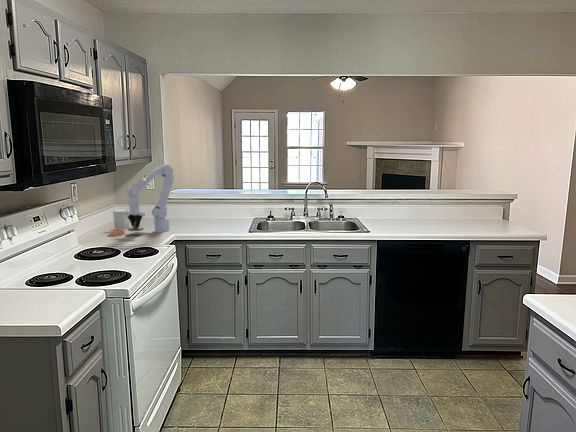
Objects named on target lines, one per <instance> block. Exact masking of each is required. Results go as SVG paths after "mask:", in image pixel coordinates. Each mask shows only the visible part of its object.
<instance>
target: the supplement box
mask: <svg viewBox="0 0 576 432" xmlns="http://www.w3.org/2000/svg"><path fill="white" fill-rule="evenodd" d="M125 212H129V210H128V209H116V210H114V211H113V212H112V214H113V223H114V226H113V227H114V229H124V230H128V228H130V220H129V219H128V216H129V215H125Z"/></svg>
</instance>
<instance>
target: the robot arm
mask: <svg viewBox="0 0 576 432" xmlns="http://www.w3.org/2000/svg"><path fill="white" fill-rule="evenodd" d="M173 172H174V169H173V168H172V166H171V165H169V164H159V165H158V166H156V167H155V168H154V169H153V170H152V171H151V172H150V173H148V175H146V176H145V177H144V178H138V179H137V181H136V182H135V183H133V184H132V185H131V186H128V187H127V190H126V194H127V196H128V204H129V206H128V207H129V211H128V212H125V215H128V219H129V223H130V224H131V225H130V226H131V228H132V227H133V223H136V227H141V226H140V225H141V221H142V218H143V217H145V216H146V212H142V211H140V203H139V202H140V201H139V195H140V193H141V191H143V190H144V189H145V188H146V187H147V186H148V184H149V182H150V181H152V180H153V179H155V178H156V177H158V176H161V177H163V180H164V181H163V185H162V187H161V192H160V194H159V199H158V200H157V203H156V204H155V206H154V208H153V209H152V210H151V214H152V216H153V221H154V222H153V223H154V225H153V226H154V230H152V231H151V232H152V233H164V232H168V231H170V222H169V221H170V220H169V218H168V217H167V216H168V215H167V214H168V211H167V210H168V207H167V202H168V200H169V196H170V193H171V190H172V186H173V183H174V181H175V180H174V173H173Z"/></svg>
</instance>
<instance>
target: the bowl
mask: <svg viewBox="0 0 576 432" xmlns="http://www.w3.org/2000/svg"><path fill="white" fill-rule="evenodd" d="M108 235H109V236H112V237H118V236H123V235H126V234H125V229H115V228H114V229H110V230H109V231H108Z"/></svg>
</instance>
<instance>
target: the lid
mask: <svg viewBox="0 0 576 432" xmlns="http://www.w3.org/2000/svg"><path fill="white" fill-rule="evenodd" d="M143 230H145V228H144V227H143V226H139V227H136V222H135V223H133V227H132V226H131V227H129V228H127V231H128V232H140V231H141V232H142V231H143Z"/></svg>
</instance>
